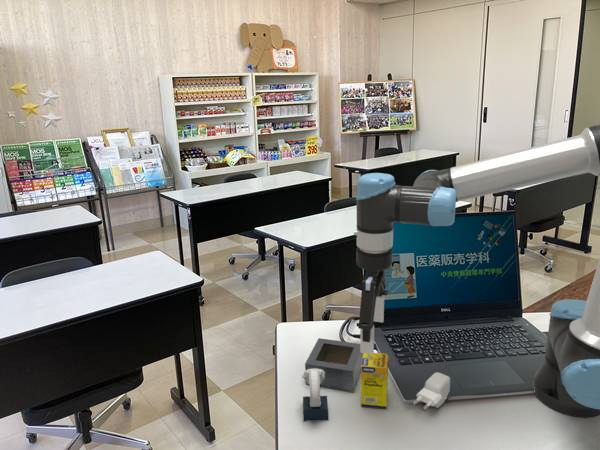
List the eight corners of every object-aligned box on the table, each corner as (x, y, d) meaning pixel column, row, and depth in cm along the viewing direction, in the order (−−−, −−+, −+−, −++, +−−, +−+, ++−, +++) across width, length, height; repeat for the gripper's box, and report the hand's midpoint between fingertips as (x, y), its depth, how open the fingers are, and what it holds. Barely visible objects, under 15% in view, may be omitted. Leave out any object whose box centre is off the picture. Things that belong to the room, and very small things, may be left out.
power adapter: (428, 424, 102) (429, 401, 101) (408, 414, 106) (409, 392, 104) (452, 398, 110) (453, 376, 108) (433, 389, 113) (434, 368, 112)
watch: (326, 401, 111) (325, 361, 108) (328, 425, 103) (327, 383, 100) (303, 402, 111) (301, 361, 108) (303, 426, 103) (301, 384, 100)
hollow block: (363, 364, 124) (363, 344, 122) (353, 392, 114) (353, 371, 112) (319, 357, 128) (318, 338, 126) (306, 384, 117) (305, 363, 115)
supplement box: (387, 409, 107) (387, 368, 104) (360, 407, 109) (360, 366, 105) (387, 392, 113) (388, 353, 110) (362, 390, 114) (362, 351, 111)
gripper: (367, 227, 112) (366, 308, 118) (343, 268, 89) (343, 365, 96) (399, 230, 109) (396, 311, 116) (382, 272, 87) (380, 371, 94)
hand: (372, 336), depth 106 cm, fingers open, 13 cm apart
